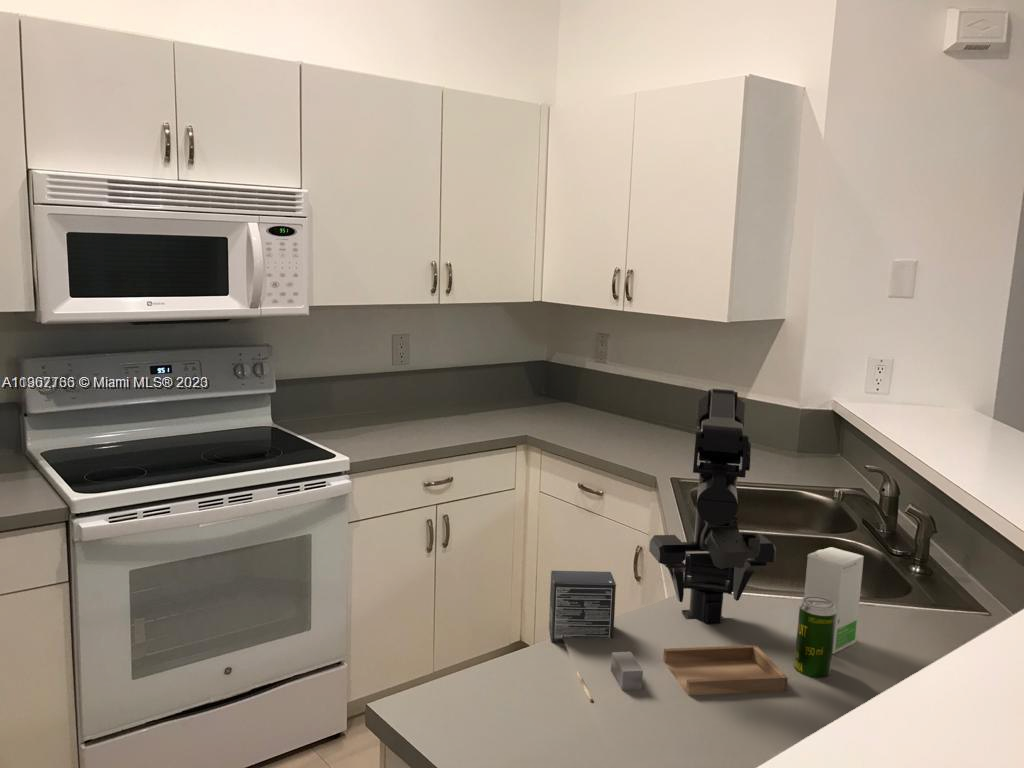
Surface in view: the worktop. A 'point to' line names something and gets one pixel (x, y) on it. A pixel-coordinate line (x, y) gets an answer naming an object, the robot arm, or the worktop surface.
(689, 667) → the walnut tray
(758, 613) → the worktop surface
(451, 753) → the worktop surface
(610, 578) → the small box
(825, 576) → the skincare box
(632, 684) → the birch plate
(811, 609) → the beer can
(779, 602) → the worktop surface
